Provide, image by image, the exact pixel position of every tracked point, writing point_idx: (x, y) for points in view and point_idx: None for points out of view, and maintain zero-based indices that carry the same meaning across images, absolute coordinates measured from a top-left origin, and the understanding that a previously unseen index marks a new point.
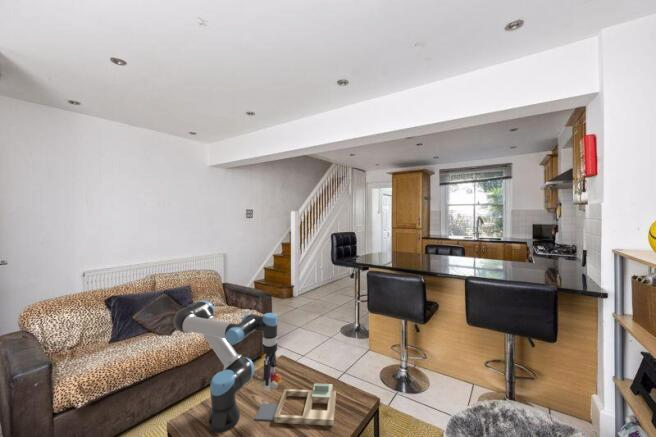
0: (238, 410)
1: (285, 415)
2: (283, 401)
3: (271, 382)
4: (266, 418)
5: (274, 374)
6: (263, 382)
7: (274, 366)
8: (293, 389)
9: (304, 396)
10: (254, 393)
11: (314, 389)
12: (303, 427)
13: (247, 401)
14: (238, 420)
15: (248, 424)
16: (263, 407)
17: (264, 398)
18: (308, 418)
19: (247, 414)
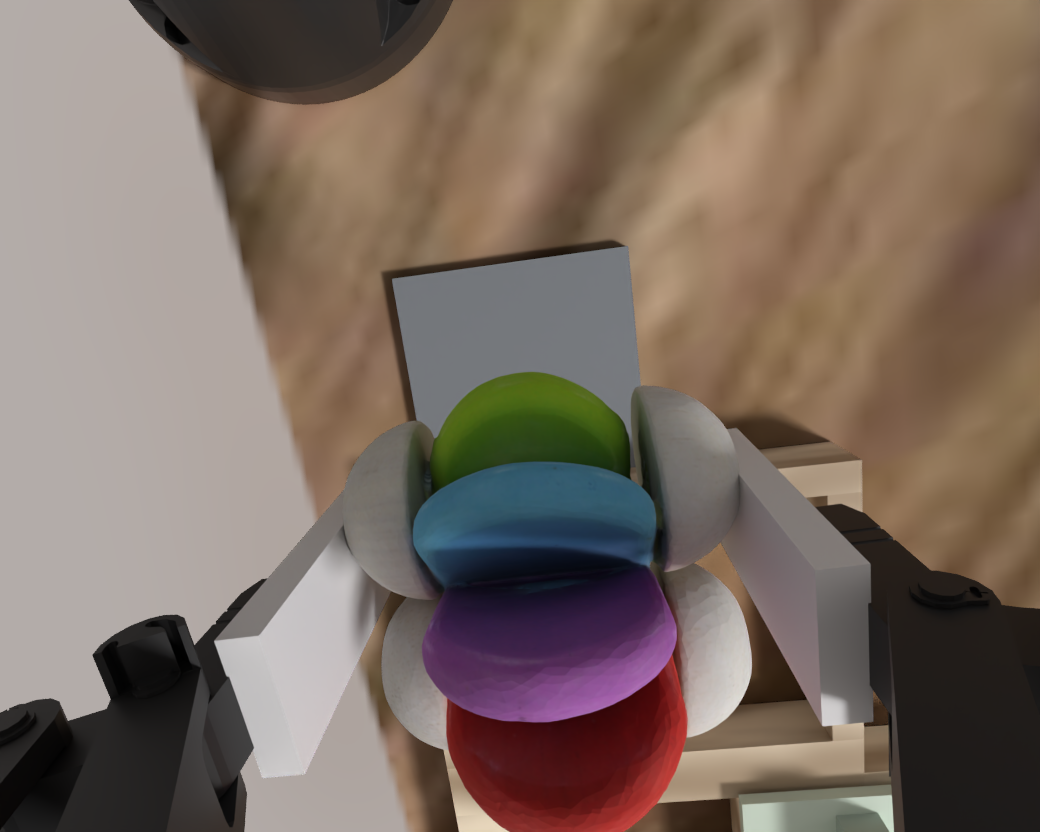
0: (351, 39)
1: None
2: None
3: (417, 656)
4: (424, 404)
5: (498, 822)
6: (376, 471)
7: (889, 735)
8: None
9: None
10: (808, 37)
11: (861, 808)
12: (424, 744)
13: (646, 24)
14: (326, 100)
15: (324, 243)
16: (565, 298)
17: (728, 228)
18: (458, 820)
19: (446, 152)
